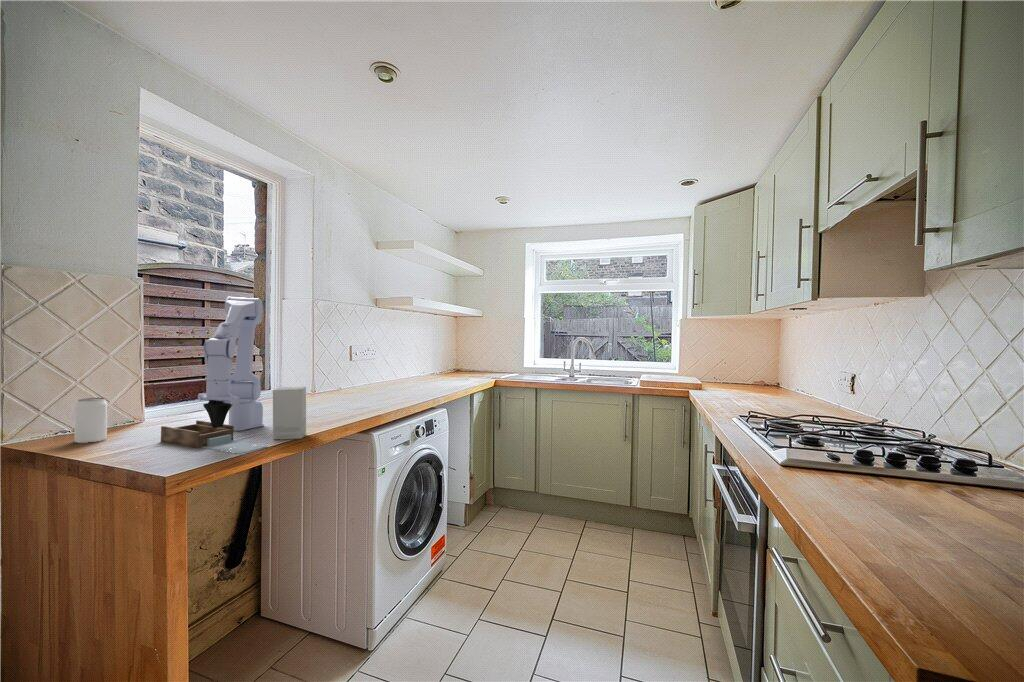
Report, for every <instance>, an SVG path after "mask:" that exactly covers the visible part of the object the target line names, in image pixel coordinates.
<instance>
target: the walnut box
mask: <svg viewBox="0 0 1024 682" xmlns="http://www.w3.org/2000/svg"><path fill="white" fill-rule="evenodd" d="M195 422H196V423H192V424H186V425H183V426H182V425H181V426H175V427H170V426H166V425H161V426H160V442H162V443H167V444H173V445H177V446H178V445H179V446H184V447H189V448H195V449H201V448H202V447H203V446H207V439H209V438H214V437H219V436H223V435H228V434H229V435H231V440H233V441H234V431H235V430H234V426H233V425H229V424H225V423H224V424H223V427H219V428H213V427H212V424H211V421H205V420H198V419H197V420H196V421H195Z"/></svg>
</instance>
